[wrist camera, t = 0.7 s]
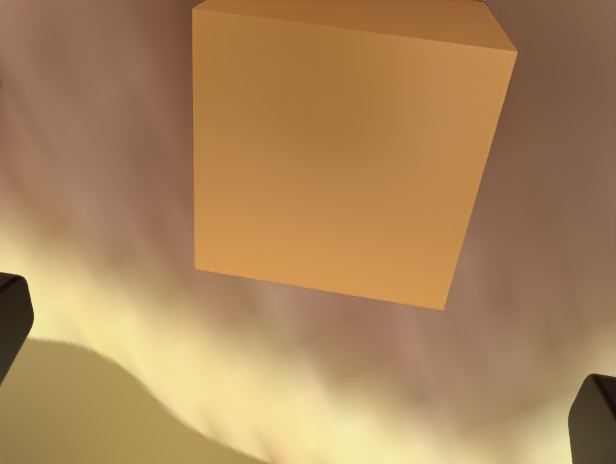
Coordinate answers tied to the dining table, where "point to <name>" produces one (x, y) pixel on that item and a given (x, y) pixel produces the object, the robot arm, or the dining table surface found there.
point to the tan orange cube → (343, 140)
